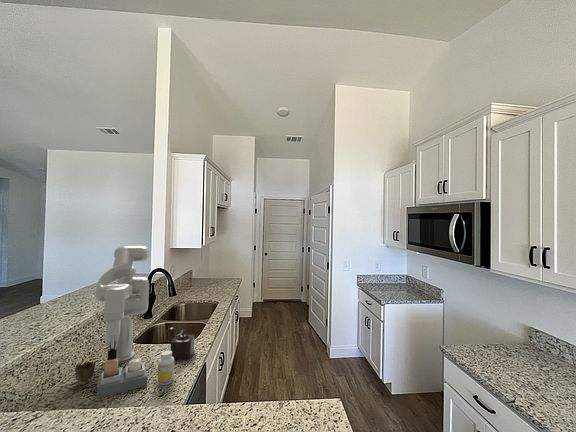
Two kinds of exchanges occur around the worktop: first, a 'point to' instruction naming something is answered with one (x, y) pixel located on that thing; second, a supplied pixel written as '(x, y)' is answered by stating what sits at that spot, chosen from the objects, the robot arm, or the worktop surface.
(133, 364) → the knob cream
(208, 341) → the worktop surface
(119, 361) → the robot arm
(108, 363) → the brown egg
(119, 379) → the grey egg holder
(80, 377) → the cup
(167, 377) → the supplement bottle
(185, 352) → the dark brown coffee grinder
